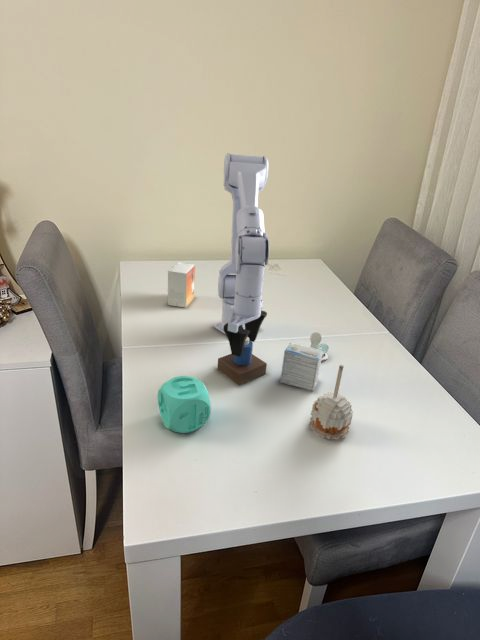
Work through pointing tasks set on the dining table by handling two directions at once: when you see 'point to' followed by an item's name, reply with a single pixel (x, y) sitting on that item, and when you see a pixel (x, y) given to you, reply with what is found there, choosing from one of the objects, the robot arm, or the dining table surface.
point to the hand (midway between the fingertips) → (243, 347)
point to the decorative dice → (184, 404)
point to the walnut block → (241, 369)
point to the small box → (181, 284)
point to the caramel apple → (331, 413)
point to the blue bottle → (245, 354)
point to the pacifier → (315, 342)
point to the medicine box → (301, 366)
